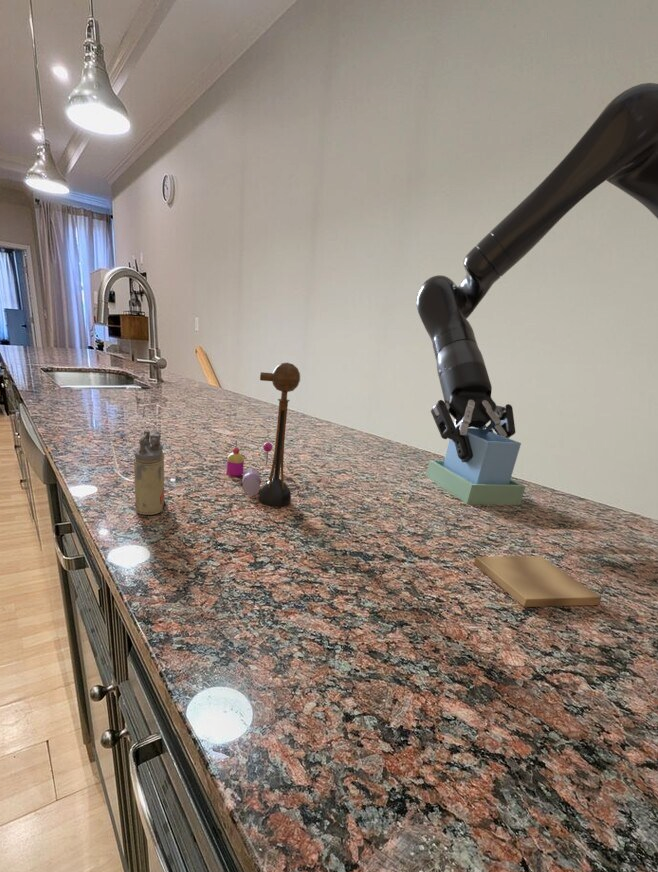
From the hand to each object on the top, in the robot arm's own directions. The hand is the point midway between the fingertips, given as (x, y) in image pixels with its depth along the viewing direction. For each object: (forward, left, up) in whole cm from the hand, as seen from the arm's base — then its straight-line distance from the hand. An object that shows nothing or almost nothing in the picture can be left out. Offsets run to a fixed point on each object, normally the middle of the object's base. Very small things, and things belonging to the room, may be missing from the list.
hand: (485, 460), depth 71 cm
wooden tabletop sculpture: (+34, 0, -8) cm, 35 cm away
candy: (+36, -11, -8) cm, 38 cm away
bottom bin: (0, -2, -8) cm, 8 cm away
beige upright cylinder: (+52, +3, -8) cm, 52 cm away
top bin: (0, -2, -6) cm, 7 cm away
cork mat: (+8, +24, -8) cm, 27 cm away
